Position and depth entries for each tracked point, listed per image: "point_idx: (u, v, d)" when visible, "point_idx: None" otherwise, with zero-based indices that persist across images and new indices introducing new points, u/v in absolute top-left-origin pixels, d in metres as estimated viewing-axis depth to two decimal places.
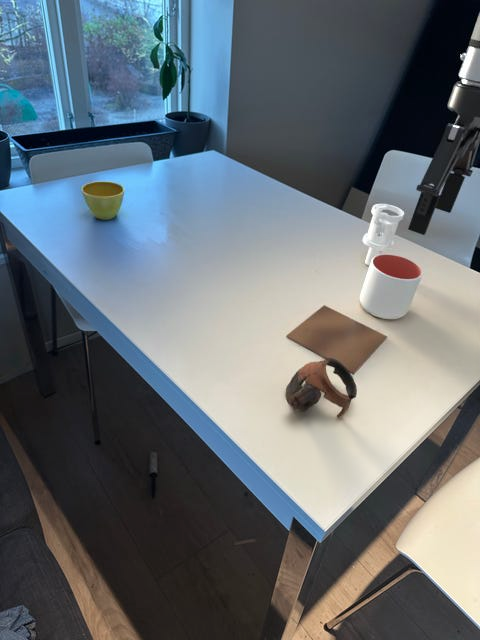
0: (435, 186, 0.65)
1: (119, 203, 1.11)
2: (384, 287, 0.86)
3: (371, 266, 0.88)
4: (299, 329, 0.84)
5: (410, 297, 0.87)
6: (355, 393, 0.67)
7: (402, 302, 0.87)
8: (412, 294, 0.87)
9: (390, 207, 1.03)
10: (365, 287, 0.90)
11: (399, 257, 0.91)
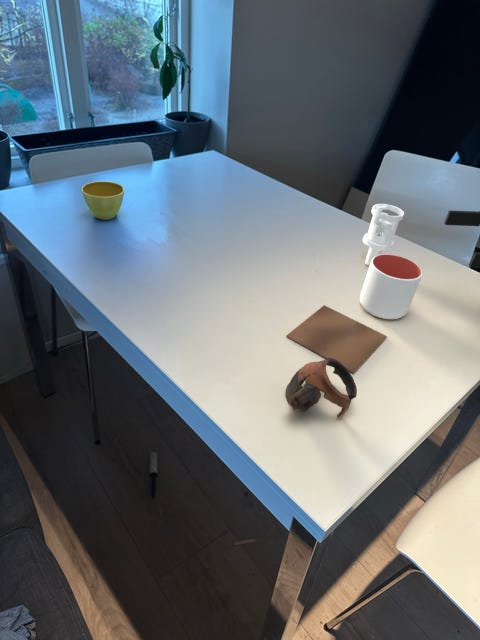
0: None
1: (119, 203, 1.11)
2: (384, 287, 0.86)
3: (371, 266, 0.88)
4: (299, 329, 0.84)
5: (410, 297, 0.87)
6: (355, 393, 0.67)
7: (402, 302, 0.87)
8: (412, 294, 0.87)
9: (390, 207, 1.03)
10: (365, 287, 0.90)
11: (399, 257, 0.91)
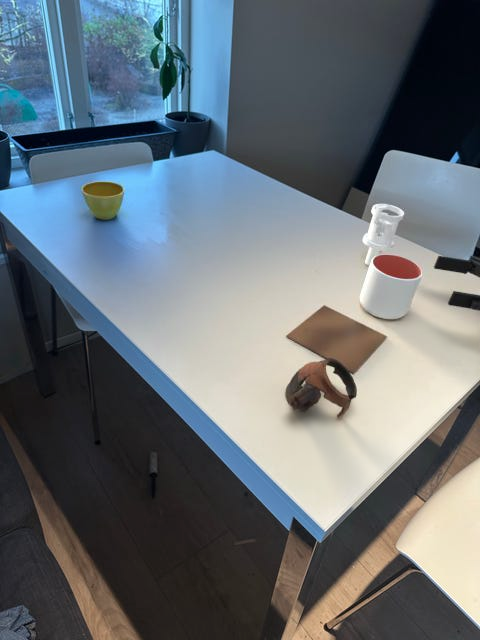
0: None
1: (119, 203, 1.11)
2: (384, 287, 0.86)
3: (371, 266, 0.88)
4: (299, 329, 0.84)
5: (410, 297, 0.87)
6: (355, 393, 0.67)
7: (402, 302, 0.87)
8: (412, 294, 0.87)
9: (390, 207, 1.03)
10: (365, 287, 0.90)
11: (399, 257, 0.91)
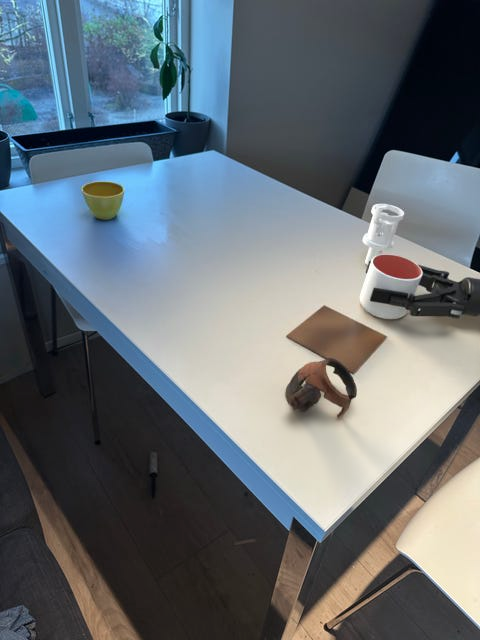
0: None
1: (119, 203, 1.11)
2: (384, 287, 0.86)
3: (371, 266, 0.88)
4: (299, 329, 0.84)
5: None
6: (355, 393, 0.67)
7: None
8: None
9: (390, 207, 1.03)
10: (365, 287, 0.90)
11: (399, 257, 0.91)
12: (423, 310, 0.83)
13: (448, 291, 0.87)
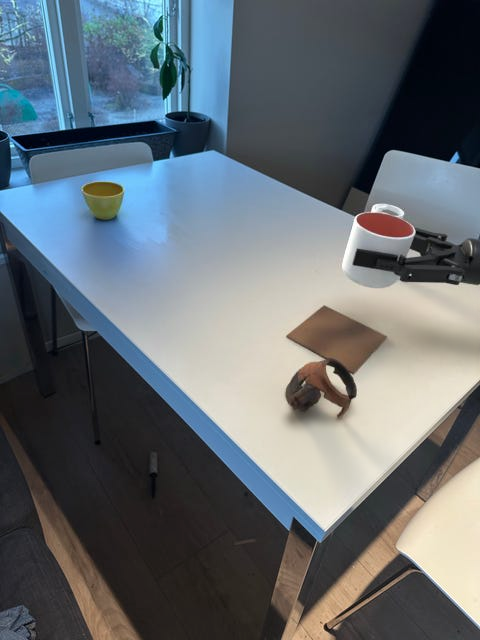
0: None
1: (119, 203, 1.11)
2: (370, 248, 0.72)
3: (354, 224, 0.74)
4: (299, 329, 0.84)
5: None
6: (355, 393, 0.67)
7: None
8: None
9: (390, 207, 1.03)
10: (348, 250, 0.76)
11: (388, 216, 0.77)
12: (415, 274, 0.69)
13: (446, 253, 0.73)
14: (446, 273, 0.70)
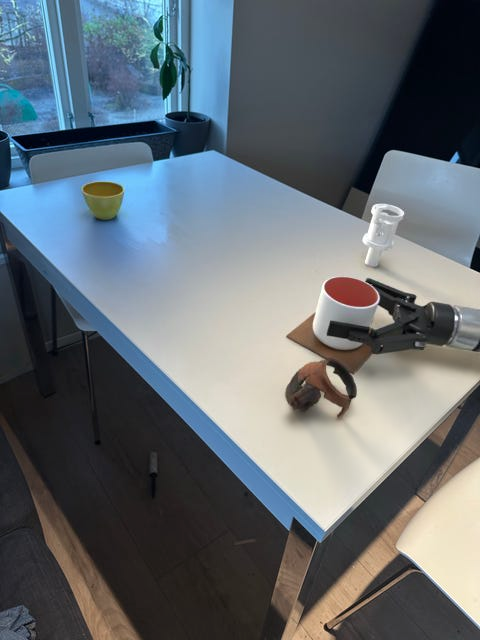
0: None
1: (119, 203, 1.11)
2: (336, 316, 0.76)
3: (322, 291, 0.78)
4: (299, 329, 0.84)
5: (366, 326, 0.77)
6: (355, 393, 0.67)
7: None
8: (368, 323, 0.77)
9: (390, 207, 1.03)
10: (317, 314, 0.80)
11: (356, 280, 0.81)
12: (386, 346, 0.72)
13: (409, 318, 0.76)
14: (413, 341, 0.73)
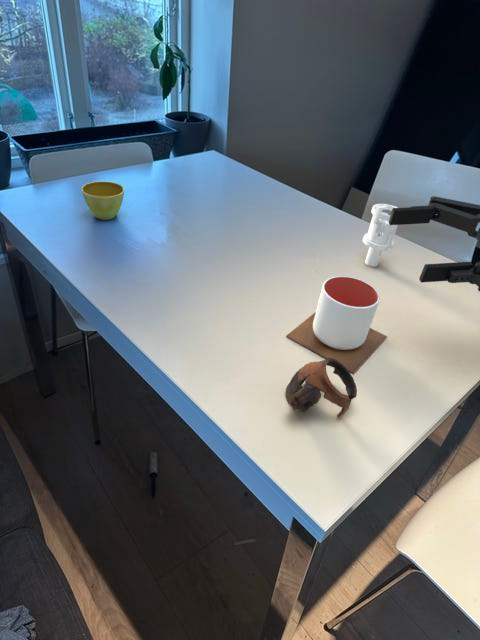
0: None
1: (119, 203, 1.11)
2: (336, 316, 0.76)
3: (322, 291, 0.78)
4: (299, 329, 0.84)
5: (366, 326, 0.77)
6: (355, 393, 0.67)
7: (357, 332, 0.77)
8: (368, 323, 0.77)
9: (390, 207, 1.03)
10: (317, 314, 0.80)
11: (356, 280, 0.81)
12: None
13: None
14: None
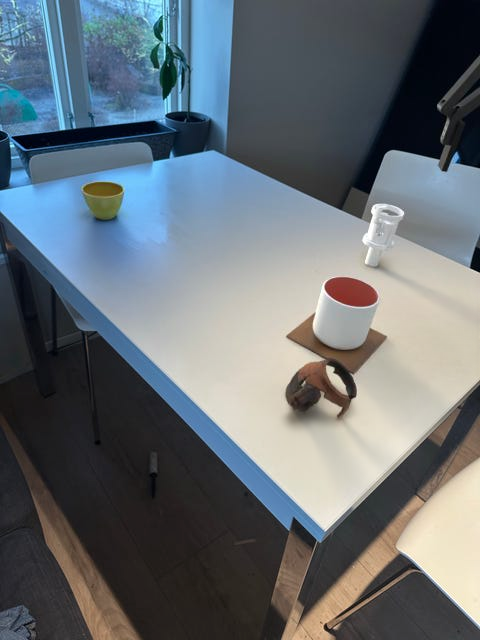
0: (445, 102, 0.59)
1: (119, 203, 1.11)
2: (336, 315, 0.76)
3: (322, 291, 0.78)
4: (299, 329, 0.84)
5: (366, 326, 0.77)
6: (355, 393, 0.67)
7: (357, 332, 0.77)
8: (368, 323, 0.77)
9: (390, 207, 1.03)
10: (317, 314, 0.80)
11: (356, 280, 0.81)
12: None
13: None
14: None
